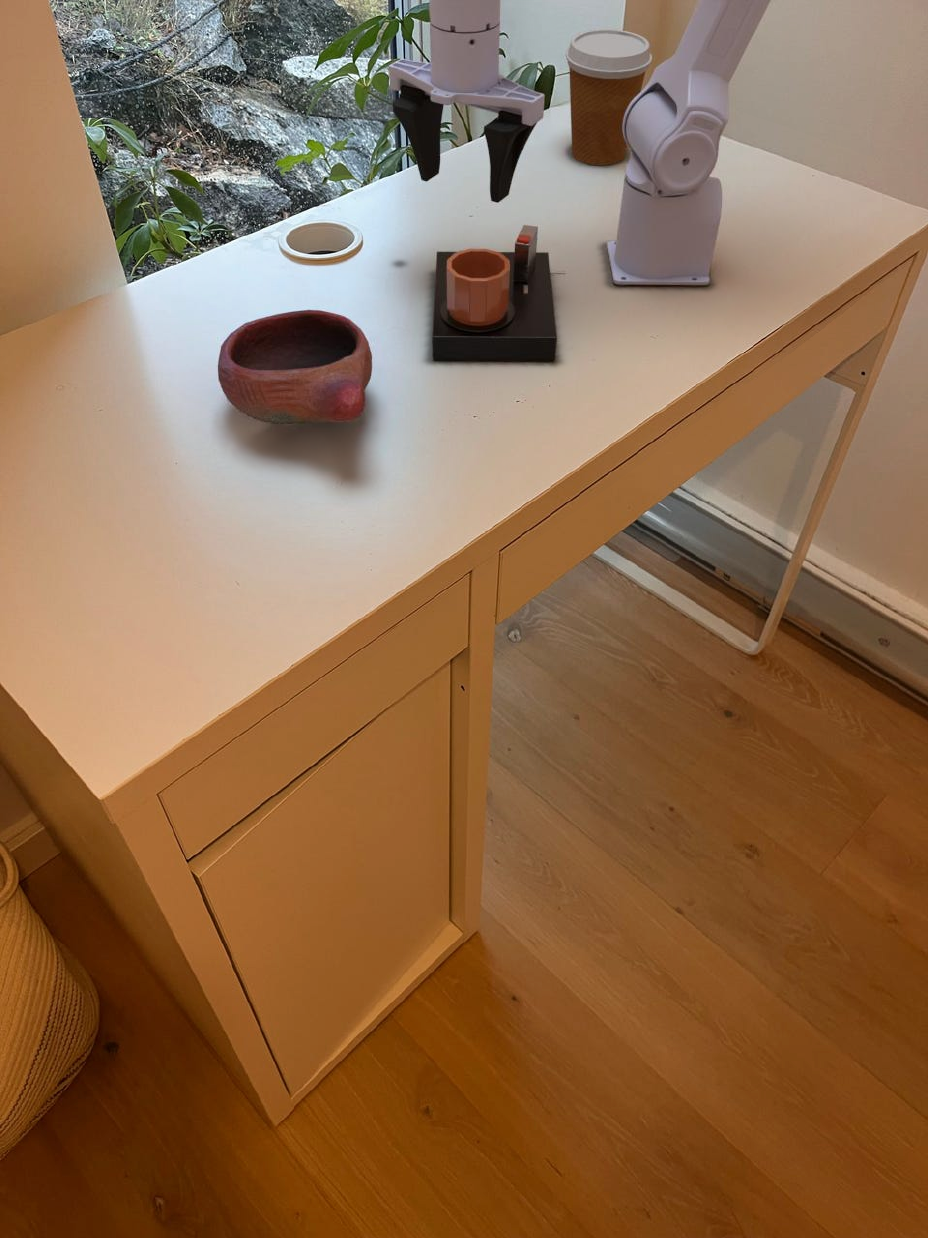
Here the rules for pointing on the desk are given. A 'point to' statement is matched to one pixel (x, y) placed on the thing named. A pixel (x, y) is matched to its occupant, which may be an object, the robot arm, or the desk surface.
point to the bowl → (296, 368)
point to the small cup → (478, 286)
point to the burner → (477, 329)
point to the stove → (516, 341)
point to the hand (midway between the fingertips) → (464, 186)
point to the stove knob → (525, 253)
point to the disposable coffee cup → (603, 90)
